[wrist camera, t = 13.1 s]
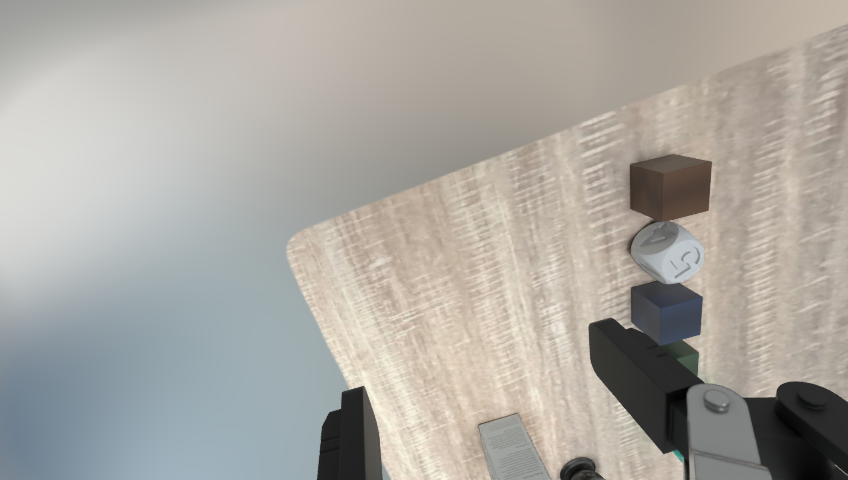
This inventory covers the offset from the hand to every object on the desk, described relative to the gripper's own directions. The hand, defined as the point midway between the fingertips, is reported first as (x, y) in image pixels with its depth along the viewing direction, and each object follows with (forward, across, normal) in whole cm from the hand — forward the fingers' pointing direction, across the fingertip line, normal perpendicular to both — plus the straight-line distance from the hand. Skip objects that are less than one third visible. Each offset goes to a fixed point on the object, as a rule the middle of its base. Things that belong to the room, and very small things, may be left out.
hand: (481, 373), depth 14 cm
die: (+28, -27, +13) cm, 41 cm away
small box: (+28, -6, +36) cm, 46 cm away
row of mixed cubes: (+28, -27, +17) cm, 42 cm away
